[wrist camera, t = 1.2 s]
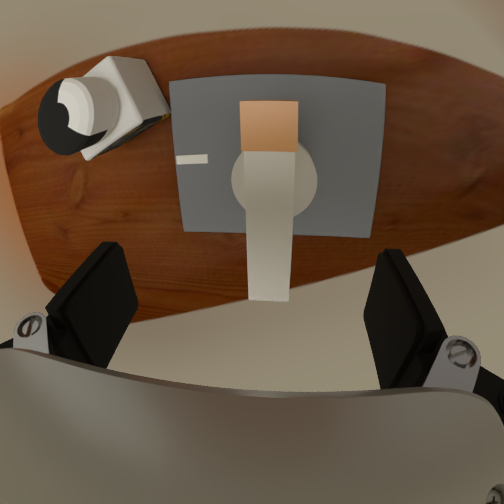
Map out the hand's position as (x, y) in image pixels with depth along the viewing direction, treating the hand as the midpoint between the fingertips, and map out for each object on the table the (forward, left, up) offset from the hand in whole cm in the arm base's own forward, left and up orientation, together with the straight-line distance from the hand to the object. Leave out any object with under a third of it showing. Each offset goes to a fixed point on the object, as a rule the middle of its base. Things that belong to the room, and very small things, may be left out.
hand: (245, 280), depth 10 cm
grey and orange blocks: (-1, 0, -14) cm, 14 cm away
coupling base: (-1, 0, -20) cm, 20 cm away
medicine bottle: (+14, -6, -21) cm, 26 cm away
